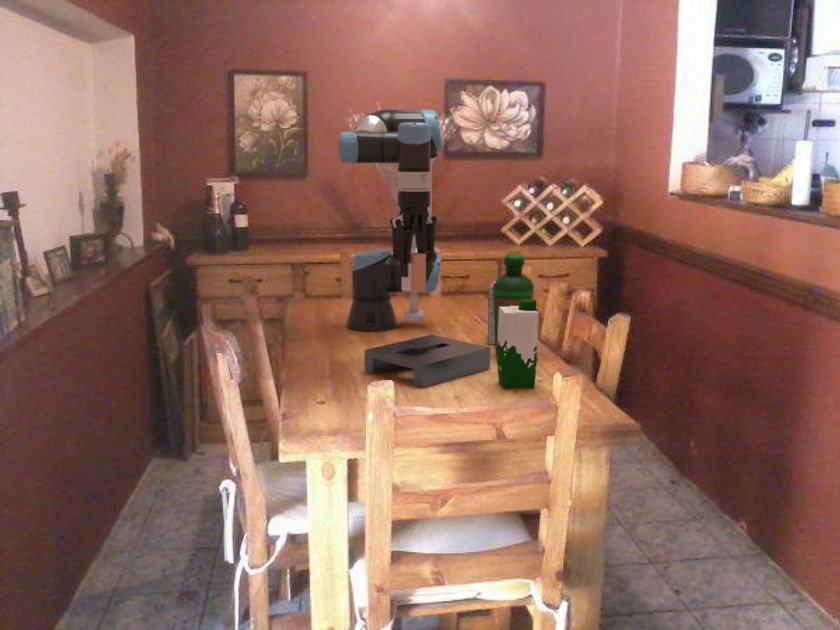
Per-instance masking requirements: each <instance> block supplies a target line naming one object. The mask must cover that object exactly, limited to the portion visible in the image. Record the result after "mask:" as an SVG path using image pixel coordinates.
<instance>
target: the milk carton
mask: <svg viewBox="0 0 840 630" xmlns="http://www.w3.org/2000/svg"><path fill="white" fill-rule="evenodd" d="M539 317H540V313H539V311H538V308H537V300H536V299H534V298H533V299H520V300H519V306H510V307H499V317H498V340H497V354H496V364H497V373H498V375H497V376H498V381H499V383H500V384H501V385H502V387H503V389H535V385H536V378H537V377H536V375H537V367H538V364H537V363H538V340H539V339H538V335H539V334H538V333H539V332H538V331H539Z"/></svg>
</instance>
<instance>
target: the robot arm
mask: <svg viewBox="0 0 840 630" xmlns="http://www.w3.org/2000/svg"><path fill="white" fill-rule="evenodd" d="M439 117H440V116H439V114H438V112H437V111H435V110H432V109H423V108H422V109H421V108H420V109H415V108H414V109H413V108H412V109H409V108H408V109H387V108H386V109H380V110H375V111H373V112H372V111H371V112H369V113H367V114H365V115H362V116H361V117H360V118H358V120H356V122H355V124H354V126H353V129H352V130H350V131H342V132H340V133H339V134H338V140H337V141H338V143H337V144H338V147H337V148H338V150H337V151H338V158H339V159H338V160H339V161H340V162H341V163H345V164H346V163H347V164H352V165H354V164H397V165H398V167H397V188H398V189H399V190H398V193H397V206H398V207H399V209H400V211H399V214H398V216H397V217H395V218H391V219H390V221H389V223H390V226H391V231H392V232H391V234H392V251H391V249H388V248H387V249H386V248H384V249H383V248H379V249H371V250H366V251H365V250H364V251H360V252H358V253H356V254H355V255H354V256H353V257H352V263H351V271H352V274H351V275H352V286H351V287H352V291H351V292H352V302H351V306H350V310H349V314H348V316H347V319H346V326H347V327H346V328H348V329H350V330H353V331H360V332H381V331H388V330H393V329H395V328H396V327H397V316H396V315H395V311H394V307H393V305H392V299H391V297H392V296H391V294H393V293H395V294H399V293H400V294H407V293H408V292H402V290H406V291H412V263H409V260H410V254H411V253H422V254H426V292H420V293H419V294H421V295H422V294H424V293H425V294H427V293H428V294H429V293H434V292H435V291H437V287H438V284H439V280H440V274H441V273H440V272H441V263H442V256H441V254H439V253H437V247H435V237H436V236H435V234H436V232H435V231H436V224H437V221H438V217H437V216H435V215H433V213H432V211H433V210H432V209H433V205H432V200H433V199H432V198H433V197H432V195H433V163H434V161H437V159H438V153H440V152H442V151H443V143H442V134H441V133H442V132H441V126H440V118H439ZM404 257H405V258H404ZM408 294H409V293H408Z"/></svg>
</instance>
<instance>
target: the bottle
mask: <svg viewBox="0 0 840 630" xmlns="http://www.w3.org/2000/svg"><path fill="white" fill-rule="evenodd" d="M507 252H508V254H505V256H504V259H503V265H505V273H504V274H503V275H501V276H500V277H498V278H497V279H496V280H495V281H496V282H495V283H494V285H493V295H494V324H495V345H494V347H495V348H494V350H495V351H494V353H495V354H496V355H497V340H498V317H499V307H510V306H519V300H520V299H534V290H535V285H534V283H533V281H532V280H531V279H530V278H529V277H528V276H526V275H525V274H523V273H522V272H523V266H524V265H526V263H525V257H524V254H521V253H522V251H521V250H520V249H509V250H508V251H507Z"/></svg>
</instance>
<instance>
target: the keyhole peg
mask: <svg viewBox="0 0 840 630" xmlns="http://www.w3.org/2000/svg"><path fill="white" fill-rule="evenodd" d="M404 258H405V257H404ZM409 263H412V291H406V290H402V292H408V294H409V310H408V309H407V310H404V311H403V321H404V322H407V323H420V322H423V321H424V316H425V311H423V310H420V309H419V294H421V293H420V292H426V254H422V253H411V254H410V260H409Z"/></svg>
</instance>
